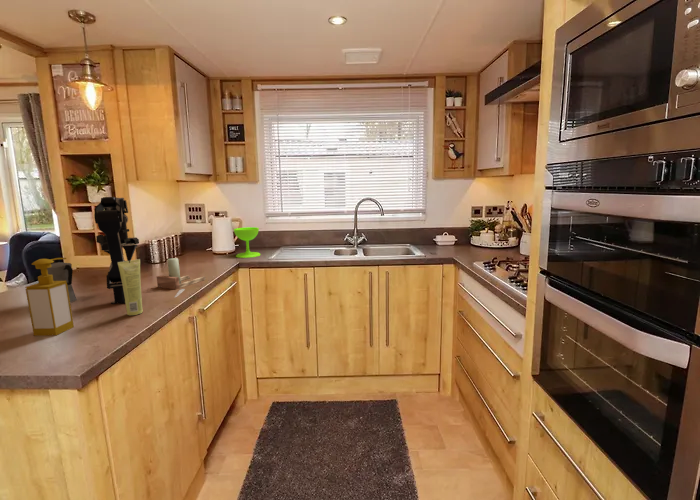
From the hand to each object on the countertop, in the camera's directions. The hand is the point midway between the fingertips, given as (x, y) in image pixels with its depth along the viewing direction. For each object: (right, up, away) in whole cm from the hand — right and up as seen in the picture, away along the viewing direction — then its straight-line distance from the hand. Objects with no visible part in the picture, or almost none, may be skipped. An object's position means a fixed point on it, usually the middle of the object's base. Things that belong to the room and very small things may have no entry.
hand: (123, 263), depth 162 cm
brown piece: (+18, -10, +16) cm, 26 cm away
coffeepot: (-18, -15, -9) cm, 26 cm away
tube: (+21, -17, -27) cm, 38 cm away
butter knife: (+26, -14, -7) cm, 31 cm away
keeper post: (+17, -11, +12) cm, 23 cm away
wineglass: (+31, +2, +86) cm, 92 cm away
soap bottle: (+4, -20, -40) cm, 44 cm away
